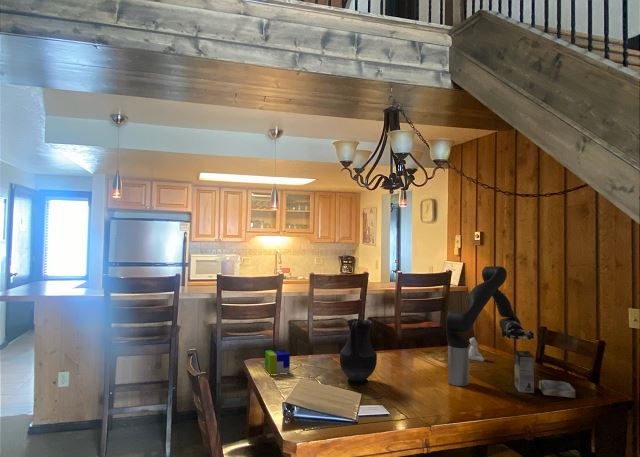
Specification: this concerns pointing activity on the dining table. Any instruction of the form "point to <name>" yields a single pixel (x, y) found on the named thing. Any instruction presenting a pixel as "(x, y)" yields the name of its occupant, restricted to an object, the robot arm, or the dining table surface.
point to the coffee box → (524, 371)
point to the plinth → (556, 388)
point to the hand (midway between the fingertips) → (519, 337)
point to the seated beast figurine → (474, 351)
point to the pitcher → (358, 353)
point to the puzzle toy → (277, 361)
